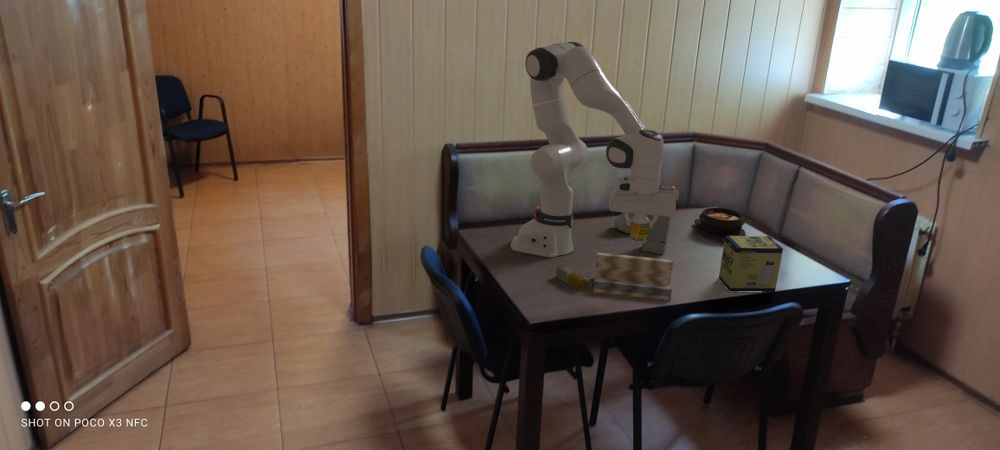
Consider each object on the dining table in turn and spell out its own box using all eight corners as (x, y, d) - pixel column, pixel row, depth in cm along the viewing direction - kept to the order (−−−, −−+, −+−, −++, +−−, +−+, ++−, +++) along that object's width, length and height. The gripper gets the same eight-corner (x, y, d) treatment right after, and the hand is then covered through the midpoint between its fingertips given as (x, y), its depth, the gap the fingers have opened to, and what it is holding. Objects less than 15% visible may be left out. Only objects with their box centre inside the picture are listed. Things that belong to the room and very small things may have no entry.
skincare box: (641, 251, 260) (646, 209, 254) (645, 244, 266) (650, 204, 260) (664, 255, 257) (670, 213, 251) (668, 248, 263) (673, 207, 258)
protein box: (717, 278, 241) (724, 235, 235) (762, 278, 242) (770, 235, 236) (728, 292, 231) (736, 247, 225) (776, 292, 232) (784, 248, 227)
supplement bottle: (638, 235, 229) (641, 207, 225) (650, 241, 225) (654, 212, 221) (625, 238, 226) (629, 210, 222) (637, 244, 222) (641, 215, 218)
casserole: (682, 224, 288) (685, 204, 285) (723, 221, 293) (727, 201, 290) (714, 248, 266) (718, 226, 263) (759, 244, 270) (762, 224, 267)
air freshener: (615, 234, 275) (617, 209, 271) (611, 226, 283) (614, 202, 279) (643, 235, 275) (646, 210, 271) (639, 227, 283) (642, 203, 279)
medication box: (555, 277, 237) (556, 266, 236) (561, 275, 238) (562, 264, 237) (579, 291, 228) (580, 280, 226) (586, 289, 229) (587, 278, 228)
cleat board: (592, 291, 227) (595, 265, 224) (594, 277, 237) (597, 252, 234) (670, 300, 224) (674, 274, 220) (669, 285, 234) (672, 260, 231)
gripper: (679, 184, 220) (673, 226, 225) (611, 178, 223) (607, 220, 228) (680, 190, 214) (674, 233, 219) (610, 184, 217) (606, 227, 222)
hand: (639, 226), depth 224 cm, fingers closed on supplement bottle, 5 cm apart
